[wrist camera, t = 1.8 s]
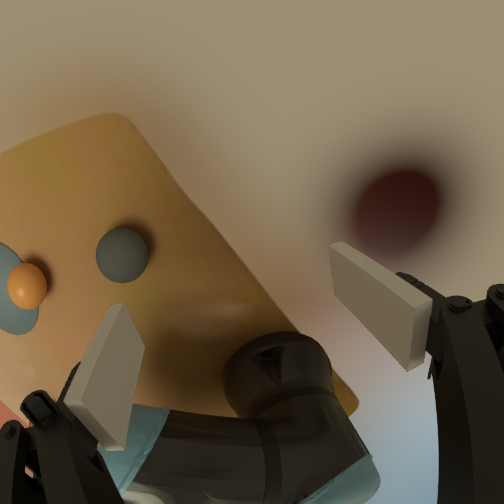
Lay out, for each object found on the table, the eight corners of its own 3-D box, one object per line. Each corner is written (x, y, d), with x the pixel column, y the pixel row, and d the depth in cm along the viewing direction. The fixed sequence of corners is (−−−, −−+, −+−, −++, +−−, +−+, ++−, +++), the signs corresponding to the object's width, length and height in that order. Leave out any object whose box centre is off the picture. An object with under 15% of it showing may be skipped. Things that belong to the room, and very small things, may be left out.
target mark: (44, 267, 28) (43, 268, 28) (35, 349, 30) (35, 349, 30) (-25, 226, 24) (-26, 226, 24) (-28, 307, 27) (-29, 308, 26)
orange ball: (57, 267, 28) (36, 286, 23) (50, 304, 29) (32, 325, 24) (24, 250, 27) (0, 264, 21) (19, 286, 28) (-2, 305, 22)
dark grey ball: (159, 234, 29) (151, 250, 24) (142, 278, 30) (132, 300, 25) (114, 214, 28) (97, 225, 23) (99, 259, 29) (82, 278, 24)
